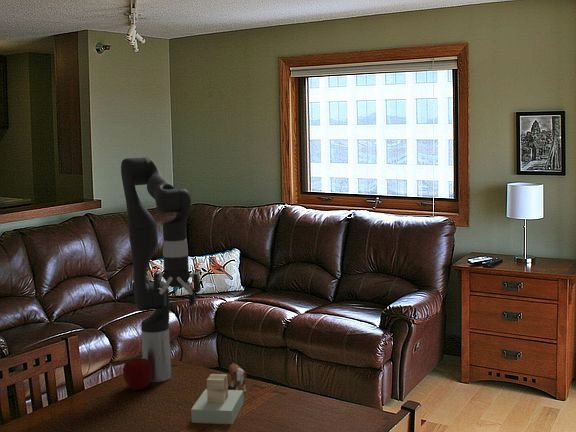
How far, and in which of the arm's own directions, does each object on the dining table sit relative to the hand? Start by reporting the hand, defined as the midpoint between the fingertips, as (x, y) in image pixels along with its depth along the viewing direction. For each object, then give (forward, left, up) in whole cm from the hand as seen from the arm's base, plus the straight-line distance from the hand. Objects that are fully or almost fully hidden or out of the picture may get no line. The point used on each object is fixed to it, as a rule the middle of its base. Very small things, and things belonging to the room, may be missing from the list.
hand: (177, 305), depth 227 cm
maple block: (+9, +14, -26) cm, 31 cm away
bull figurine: (-10, +16, -30) cm, 36 cm away
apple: (-8, -17, -30) cm, 36 cm away
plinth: (+9, +14, -30) cm, 34 cm away
